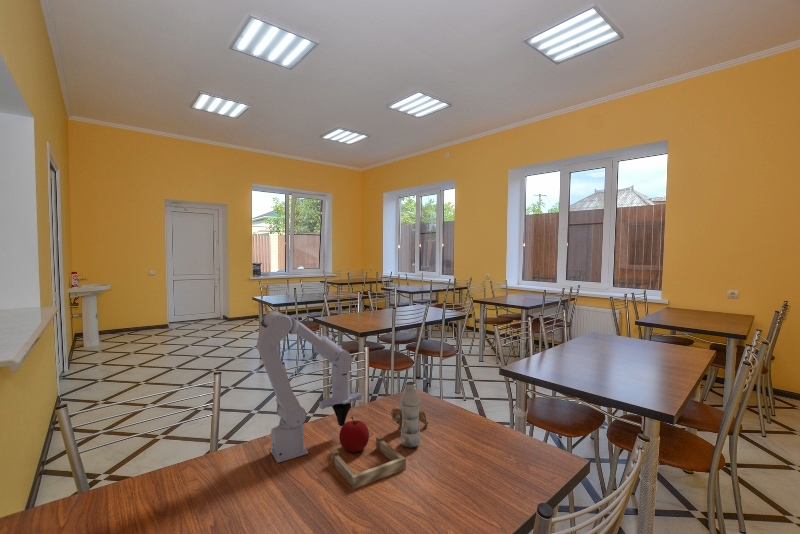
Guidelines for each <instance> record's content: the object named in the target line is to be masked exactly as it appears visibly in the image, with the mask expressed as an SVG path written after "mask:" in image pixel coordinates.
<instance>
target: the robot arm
mask: <svg viewBox="0 0 800 534" xmlns="http://www.w3.org/2000/svg"><path fill="white" fill-rule="evenodd" d="M287 335H297V336H298V337H300V338H302V339H304V341H307V342H308V343H309V344H311V345H312V347H313V351H314V352H315V353H316V354H318V355H320V356H321V357H322V358H324V359H325V360H327V361H328V362H329V363H330V364H331V388H332V389H331V394H332V395H331V397H329V398H326V399H324V400H322V401H319V403H318V406H319V409H320V410H325V409H326V408H329V407H331V408H332V409H333V412H334V414H335V417H336V419H337V425H338V426H339V427H342V426H343V425H344V424H345V423H346V420H347V416H348V414H349V411H350V409H351V407H352V403H351V402H355V401H361V400H362V393H360V392H354V393H350V368H351V366H352V363H353V357H352V355H351V353H350V352H349V351H348V350H345V349H343V348H342V347H343V345H341V344H337V343H336V342H334V341H332V340H333V338H332V337H330V336H325V335H323V336H322V335H321V336H318V334H316V333H315V332H314V331H313V330H311V329H310V328H309V327H307V326H306V325H305V324H303V323H302V322H301V321H299V320H297V319H295V318H294V317H291V316H290V315H287V314H286V313H282V312H279V311H277V310H270V311H268V312H266V313H265V314H264V316H263V317H262V318H261V320H260V322H259V331H258V336H257V341H256V348H257V350H258V353H259V354H258V355H259V356H260V358H261V361H262V364H263V366H264V369H265V372H266V374H267V377H268V379H269V383H270V384H271V387H272V389H273V392H274V395H275V397H276V398H275V402H276V413H277V415H278V416H279V418H280V419H279V421H278V422H279V423H278V425H277V426H274V427H273V428H271V431H270V454H271V455H272V456H273V457H274V459H275V462H276V463H282V462H285V461H289V460H292V459H296V458H298V457H302V456H304V455H307V454H309V451H308V450H307V448H306V447H305V441H304V440H305V435H304V434H305V433H304V432H305V431H304V430H305V428H304V423H305V421H306V418H307V411H306V409H305V408H304V407H303V406H301V403H300V402H299V400H298V398H297V397H296V395H295V394H294V391H293V388H292V386H291V383H290V380H289V378H288V375H287V373H286V370H285V367H284V365H283V362H282V359H281V356H280V353H279V351H278V348H277V347H278V346H279V344H280V342H281V341H282V340H283V339H284V338H285V337H286V336H287Z"/></svg>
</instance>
